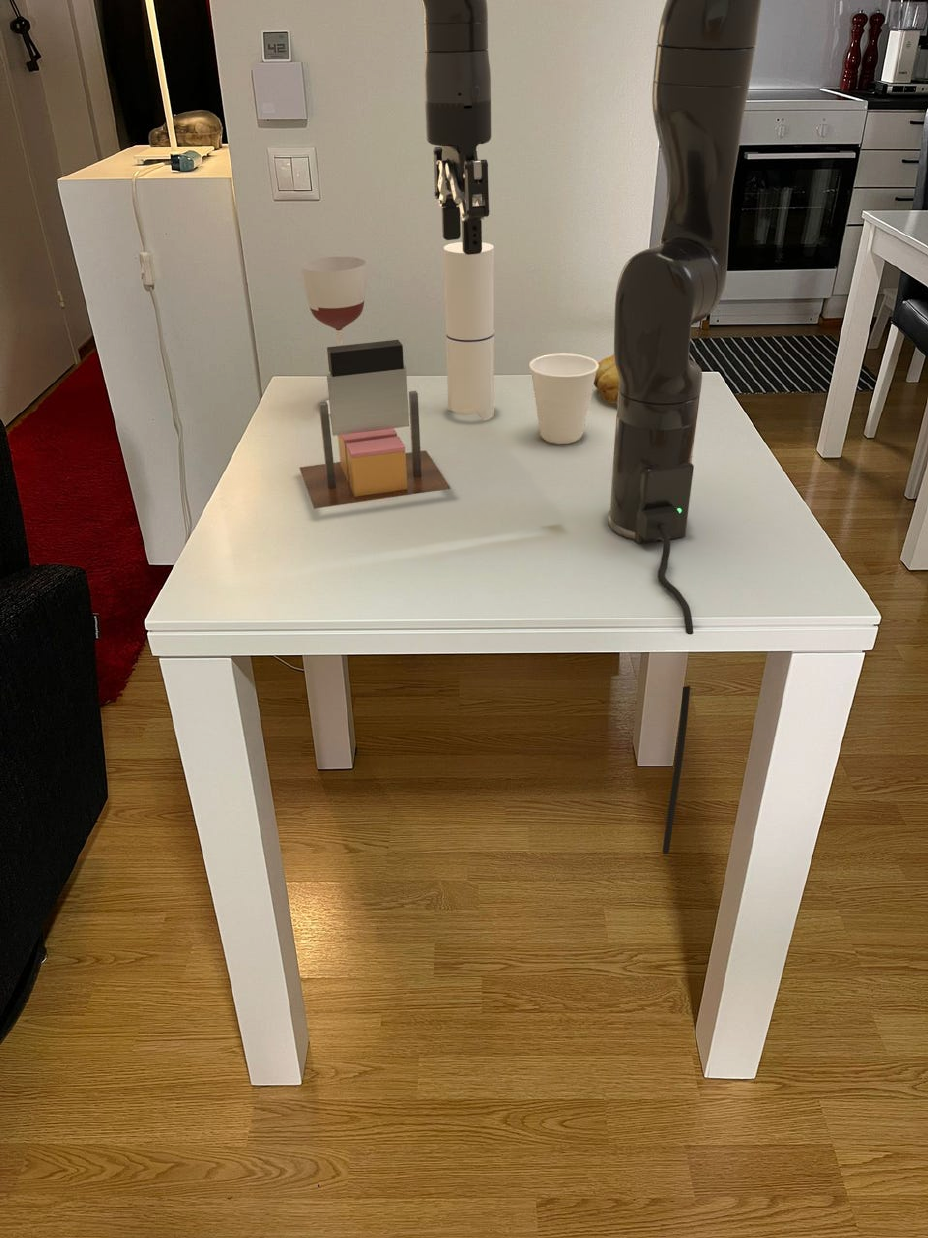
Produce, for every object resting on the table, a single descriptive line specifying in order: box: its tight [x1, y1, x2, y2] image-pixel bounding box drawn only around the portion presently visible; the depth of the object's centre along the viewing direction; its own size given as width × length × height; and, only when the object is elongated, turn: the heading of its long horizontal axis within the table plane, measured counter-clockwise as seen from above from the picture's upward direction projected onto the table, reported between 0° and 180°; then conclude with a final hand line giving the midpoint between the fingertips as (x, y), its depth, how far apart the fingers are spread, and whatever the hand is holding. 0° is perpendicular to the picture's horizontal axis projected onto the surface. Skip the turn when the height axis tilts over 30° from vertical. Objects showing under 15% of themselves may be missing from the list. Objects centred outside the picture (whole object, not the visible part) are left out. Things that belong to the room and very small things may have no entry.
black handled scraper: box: [326, 339, 410, 437], centre depth 122 cm, size 2×10×11 cm, turn 106°
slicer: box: [298, 390, 452, 509], centre depth 126 cm, size 13×18×13 cm
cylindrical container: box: [443, 241, 495, 422], centre depth 145 cm, size 7×7×25 cm
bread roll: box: [593, 354, 619, 404], centre depth 153 cm, size 13×10×8 cm
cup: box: [528, 352, 599, 445], centre depth 140 cm, size 10×10×11 cm
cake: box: [337, 428, 407, 497], centre depth 128 cm, size 10×7×6 cm
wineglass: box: [300, 256, 367, 415], centre depth 149 cm, size 9×10×22 cm
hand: (461, 246), depth 119 cm, fingers open, 8 cm apart
